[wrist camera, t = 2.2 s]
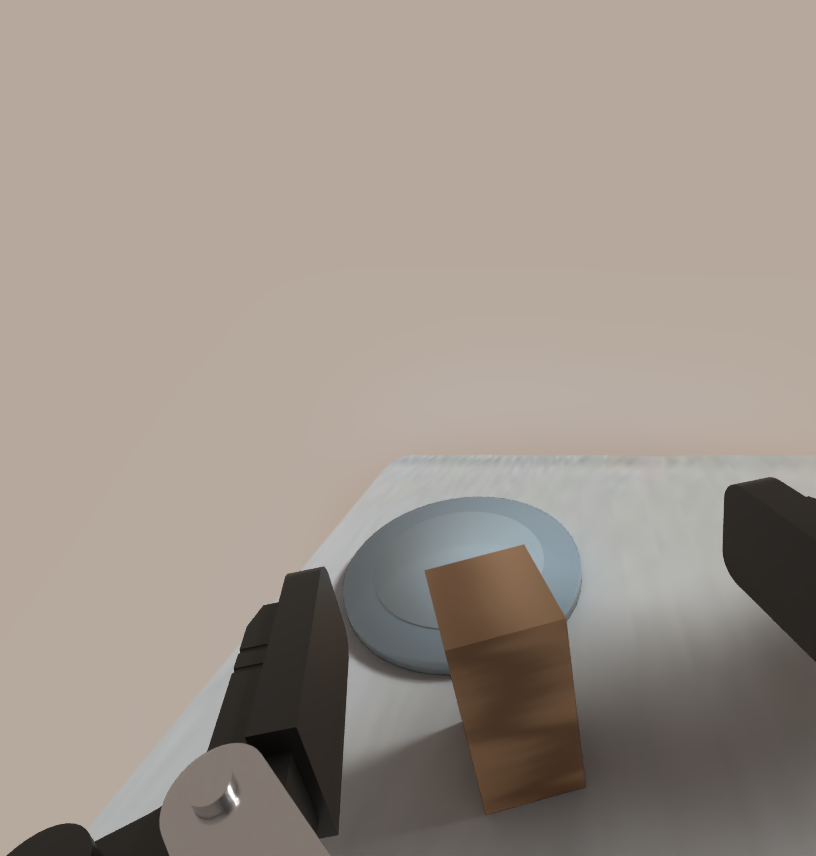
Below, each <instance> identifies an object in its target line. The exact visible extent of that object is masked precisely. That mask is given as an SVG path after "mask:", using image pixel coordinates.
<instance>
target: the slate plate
mask: <svg viewBox="0 0 816 856" xmlns="http://www.w3.org/2000/svg"><path fill="white" fill-rule="evenodd" d="M523 544H524V545H525V547H526V548H527V550H528V552H529V554H530V555H531V557H532V559H533V561H534V563H535V564H536V566H537V568H538V570H539V571H540V573H541V575H542V577H543V578H544V580H545V582H546V584H547V586H548V587H549V589H550V591H551V593H552V594H553V596H554V598H555V600H556V601H557V603H558V605H559V607H560V609H561V610H562V612H563V614H564V616H565V617H566V622H567V620H568V619H569V618H570V616H571V614H572V612H573V610H574V609H575V607H576V605H577V602H578V599H579V595H580V592H581V584H582V576H581V565H580V556H579V552H578V549H577V546H576V544H575V542H574V540H573V538H572V536H571V535H570V534H569V532H568V531H567V530H566V528H565V527H564V526H563V525H562V524H561V523H559V522H558V521H557V520H556V519H555V518H553V517H552V516H550V515H549V514H547V513H545V512H544V511H542V510H540V509H538V508H536V507H533V506H530V505H528V504H525V503H521V502H518V501H514V500H509V499H504V498H495V497H464V498H456V499H450V500H445V501H440V502H436V503H432V504H429V505H426V506H423V507H420V508H417V509H415V510H412V511H410V512H408V513H405V514H403V515H401V516H400V517H398V518H396V519H394V520H392V521H391V522H389V523H388V524H386V525H385V526H383V527H382V528H380V529H379V530H378V531H377V532H375V533H374V534H373V535H372V536H371V537H370V538H369V539H368V540H367V541H366V542H365V543H364V544H363V545H362V546H361V547H360V549H359V550H358V551H357V553H356V554H355V556H354V557H353V559H352V560H351V562H350V564H349V567H348V569H347V572H346V575H345V578H344V584H343V600H344V604H345V608H346V612H347V615H348V617H349V620H350V623H351V625H352V627H353V629H354V631H355V633H356V635H357V636H358V637H359V639H360V640H361V641H362V643H363V644H364V645H365V646H366V647H368V648H369V649H370V650H371V651H372V652H373V653H375V654H376V655H378V656H379V657H381V658H382V659H384V660H386V661H388V662H390V663H392V664H394V665H396V666H399V667H402V668H405V669H409V670H412V671H417V672H422V673H428V674H441V675H450V671H449V667H448V663H447V659H446V655H445V651H444V647H443V643H442V639H441V635H440V631H439V627H438V623H437V619H436V615H435V611H434V607H433V603H432V599H431V595H430V591H429V587H428V583H427V579H426V575H425V571H424V570H428V569H431V568H435V567H439V566H443V565H447V564H450V563H454V562H458V561H462V560H466V559H470V558H473V557H477V556H481V555H485V554H489V553H492V552H496V551H500V550H504V549H508V548H511V547H515V546H519V545H523Z"/></svg>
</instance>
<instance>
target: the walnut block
mask: <svg viewBox="0 0 816 856" xmlns="http://www.w3.org/2000/svg"><path fill="white" fill-rule="evenodd" d="M424 571H425V575H426V579H427V583H428V587H429V591H430V595H431V599H432V603H433V607H434V611H435V615H436V619H437V623H438V627H439V631H440V635H441V639H442V643H443V647H444V651H445V655H446V659H447V663H448V667H449V671H450V675H451V679H452V683H453V687H454V691H455V694H456V698H457V702H458V706H459V710H460V714H461V718H462V722H463V726H464V730H465V734H466V738H467V742H468V746H469V750H470V754H471V758H472V762H473V766H474V770H475V774H476V778H477V781H478V785H479V789H480V793H481V797H482V801H483V805H484V809H485V813H486V815H488V814H491V813H495V812H498V811H502V810H505V809H509V808H513V807H516V806H520V805H523V804H527V803H530V802H534V801H538V800H541V799H545V798H548V797H552V796H555V795H559V794H563V793H566V792H570V791H573V790H577V789H580V788H584V787H586V785H585V777H584V768H583V760H582V751H581V742H580V734H579V725H578V717H577V708H576V700H575V691H574V682H573V674H572V665H571V657H570V648H569V640H568V631H567V622H566V617H565V616H564V614H563V612H562V610H561V609H560V607H559V605H558V603H557V601H556V600H555V598H554V596H553V594H552V593H551V591H550V589H549V587H548V586H547V584H546V582H545V580H544V578H543V577H542V575H541V573H540V571H539V570H538V568H537V566H536V564H535V563H534V561H533V559H532V557H531V555H530V554H529V552H528V550H527V548H526V547H525V545H524V544H523V545H519V546H515V547H511V548H508V549H504V550H500V551H496V552H492V553H489V554H485V555H481V556H477V557H473V558H470V559H466V560H462V561H458V562H454V563H450V564H447V565H443V566H439V567H435V568H431V569H428V570H424Z"/></svg>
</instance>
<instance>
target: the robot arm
mask: <svg viewBox="0 0 816 856" xmlns="http://www.w3.org/2000/svg"><path fill="white" fill-rule="evenodd" d="M723 558H724V562H725V565H726V567H727V570H728V572H729V574H730V575H731V577H732V578H733V580H734V581H735V582H736V583H737V585H738V586H739V587H740V588H742V589H743V590H744V591H745V592H746V593H747V594H748V595H749V596H750V597H751V598H752V599H753V600H754V601H755V602H756V603H757V604H758V605H759V606H760V607H761V608H762V609H763V610H764V611H765V612H766V613H767V614H768V615H769V616H770V617H771V618H772V619H773V620H774V621H775V622H776V623H777V624H778V625H779V626H780V627H781V628H782V629H783V630H784V631H785V632H786V633H787V634H788V635H789V636H790V637H791V638H792V639H793V640H794V641H795V642H796V643H797V644H798V645H799V646H800V647H801V648H802V649H803V650H804V651H805V652H806V653H807V654H808V655H809V656H810V657H811V658H812V659H813V660H814V661H815V662H816V499H815V498H812V497H809V496H808V497H805V496H803V495H802V494H800V493H799V492H797V491H796V490H794V489H792V488H791V487H789V486H788V485H786V484H784V483H783V482H781V481H780V480H778V479H776V478H772V477H768V478H763V479H759V480H754V481H749V482H744V483H739V484H734V485H730V486H729V487H728V488H727V489H726V491H725V496H724V522H723ZM348 661H349V653H348V642H347V635H346V630H345V626H344V623H343V620H342V616H341V613H340V610H339V607H338V603H337V600H336V597H335V594H334V590H333V587H332V584H331V581H330V577H329V574H328V572H327V570H326V568H325V567H319V568H314V569H309V570H304V571H299V572H295V573H290V574H287V575H286V577H285V580H284V584H283V588H282V591H281V595H280V599H279V602H278V603H273V604H268V605H263V607H262V608H261V609H260V610H259V612H258V613H257V614H256V616H255V617H254V618H253V619H252V621H251V622H250V623H249V625H248V626H247V628H246V631H245V634H244V637H243V640H242V644H241V647H240V654H238V656H237V659H236V663H235V666H234V673H232V675H231V678H230V681H229V685H228V688H227V691H226V694H225V697H224V700H223V704H222V707H221V710H220V713H219V716H218V719H217V722H216V726H215V729H214V732H213V735H212V738H211V741H210V744H209V748H208V750H207V752H206V753H204V754H203V755H201V756H200V757H198V758H197V759H196V760H195V761H193V762H192V763H191V764H190V765H189V766H188V767H187V768H186V769H185V770H184V771H183V772H182V773H181V774H180V775H179V776H178V778H177V779H176V780H175V781H174V783H173V785H172V786H171V788H170V789H169V791H168V793H167V795H166V797H165V799H164V802H163V805H162V806H161V807H160V808H158V809H156V810H155V811H153V812H151V813H150V814H148V815H146V816H144V817H142V818H140V819H138V820H136V821H134V822H132V823H130V824H128V825H126V826H124V827H122V828H120V829H118V830H116V831H115V832H113V833H111V834H109V835H107V836H105V837H103V838H101V839H99V840H97V841H95V842H94V840H93V839H92V837H91V836H90V834H89V833H88V831H87V830H86V829H85V828H83V827H82V826H81V825H77V824H70V823H68V824H67V823H66V824H60V825H56V826H53V827H50V828H47V829H45V830H43V831H41V832H39V833H37V834H35V835H34V836H32V837H31V838H29V839H27V840H26V841H24V842H23V843H22V844H20V845H19V846H18V847H16V848H15V849H14V850H13V851H12V852H10V853H9V854H8V855H7V856H331V855H330V854H329V853H328V851H327V850H326V848H325V847H324V845H323V844H322V842H321V841H320V840H319V839H320V838H325V837H330V836H335V835H338V831H339V814H340V797H341V780H342V763H343V746H344V729H345V712H346V695H347V678H348Z"/></svg>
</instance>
